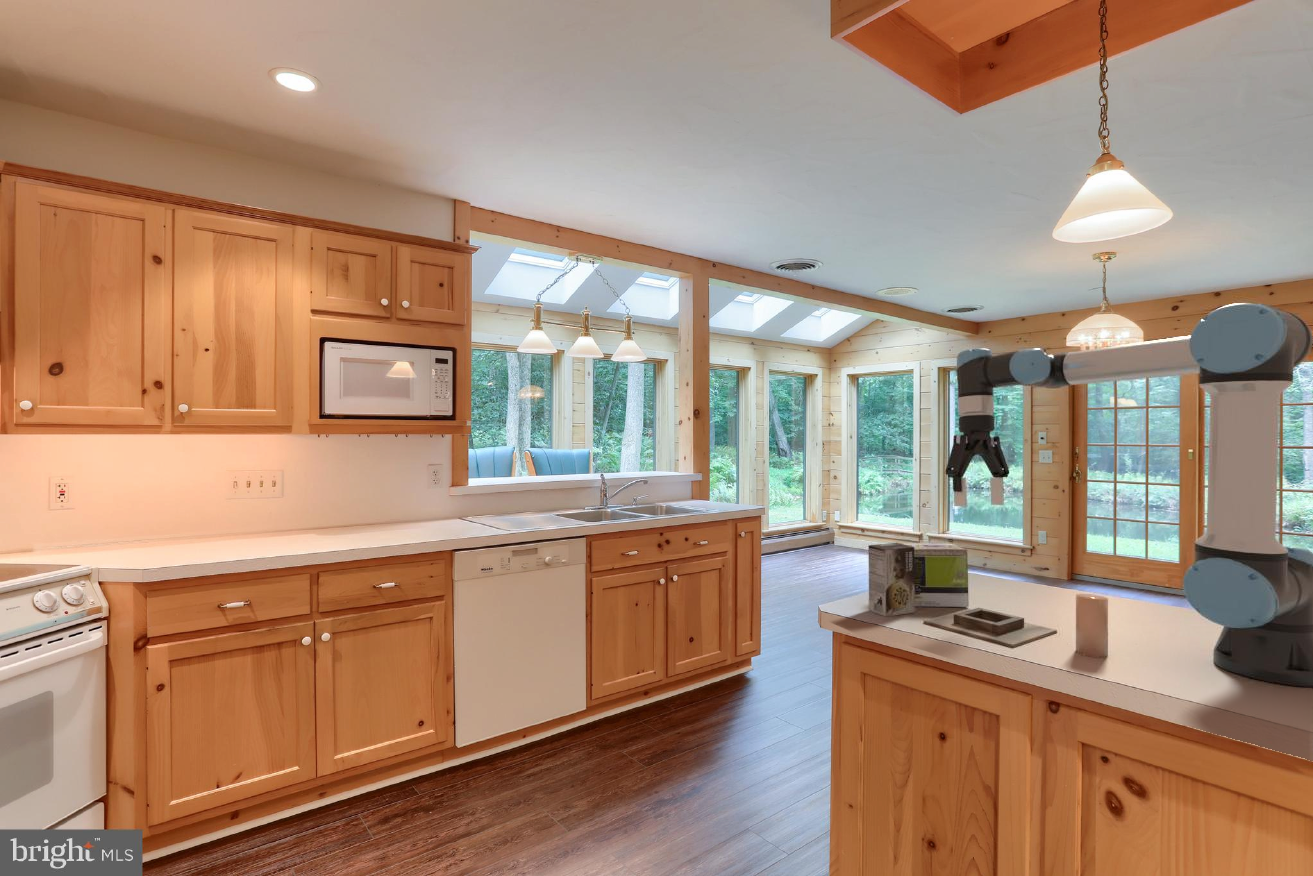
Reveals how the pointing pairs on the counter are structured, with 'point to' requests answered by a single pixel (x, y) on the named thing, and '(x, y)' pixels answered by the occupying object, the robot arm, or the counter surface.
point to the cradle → (991, 626)
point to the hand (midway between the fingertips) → (979, 505)
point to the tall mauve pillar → (1092, 625)
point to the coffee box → (891, 579)
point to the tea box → (940, 575)
